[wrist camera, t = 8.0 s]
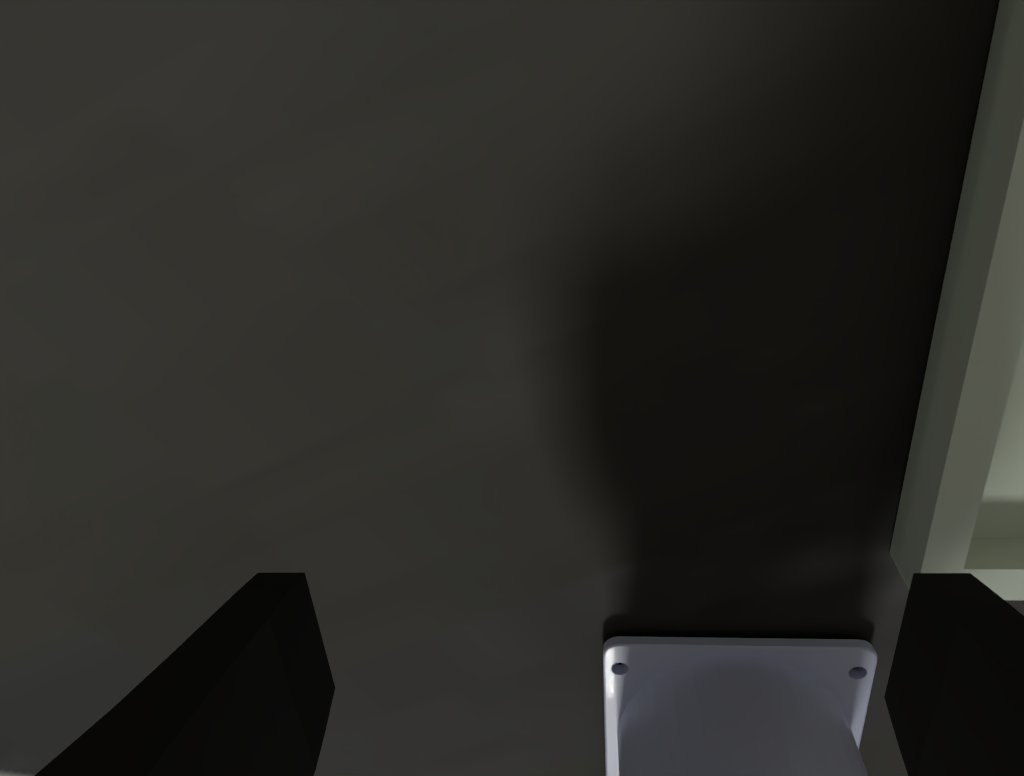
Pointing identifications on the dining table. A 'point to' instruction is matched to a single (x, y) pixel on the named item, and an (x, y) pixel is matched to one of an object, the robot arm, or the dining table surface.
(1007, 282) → the tray
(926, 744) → the robot arm
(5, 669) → the dining table surface
